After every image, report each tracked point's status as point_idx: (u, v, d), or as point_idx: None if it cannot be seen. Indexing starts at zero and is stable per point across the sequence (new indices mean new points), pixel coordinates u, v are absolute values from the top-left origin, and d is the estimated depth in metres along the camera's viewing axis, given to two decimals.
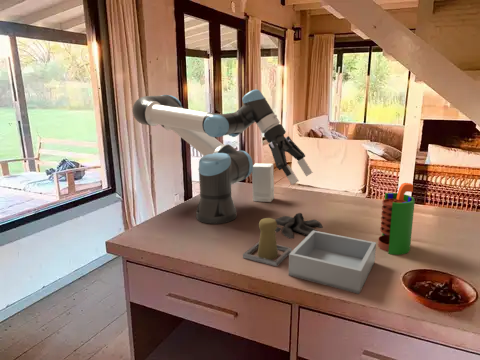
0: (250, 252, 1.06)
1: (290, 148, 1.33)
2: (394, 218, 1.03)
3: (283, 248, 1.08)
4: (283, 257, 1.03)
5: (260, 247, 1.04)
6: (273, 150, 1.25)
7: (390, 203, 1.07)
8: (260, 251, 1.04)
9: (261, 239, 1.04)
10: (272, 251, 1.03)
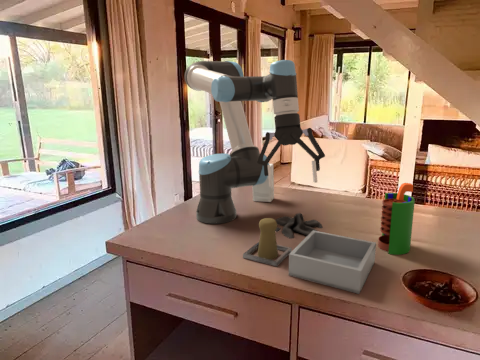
0: (250, 252, 1.06)
1: (300, 144, 1.09)
2: (394, 218, 1.03)
3: (283, 248, 1.08)
4: (283, 257, 1.03)
5: (260, 247, 1.04)
6: (264, 142, 1.10)
7: (390, 203, 1.07)
8: (260, 251, 1.04)
9: (261, 239, 1.04)
10: (272, 251, 1.03)
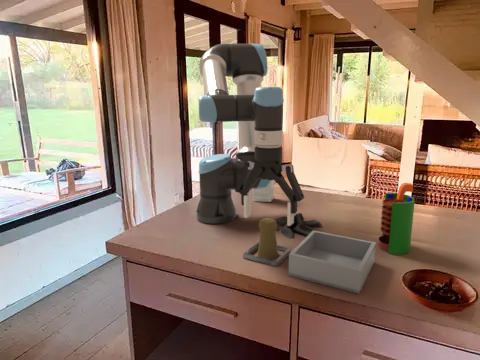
0: (250, 252, 1.06)
1: None
2: (394, 218, 1.03)
3: (283, 248, 1.08)
4: (283, 257, 1.03)
5: (260, 247, 1.04)
6: None
7: (390, 203, 1.07)
8: (260, 251, 1.04)
9: (261, 239, 1.04)
10: (272, 251, 1.03)
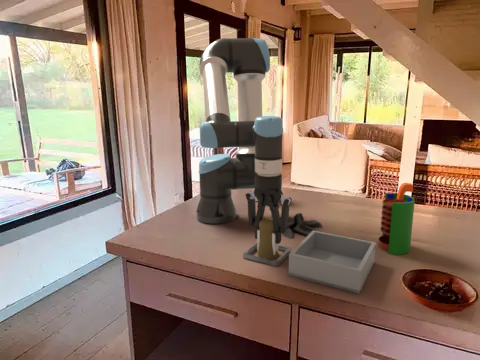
0: (250, 252, 1.06)
1: None
2: (394, 218, 1.03)
3: (283, 248, 1.08)
4: (283, 257, 1.03)
5: (260, 247, 1.04)
6: None
7: (390, 203, 1.07)
8: (260, 251, 1.04)
9: (261, 239, 1.04)
10: (272, 251, 1.03)
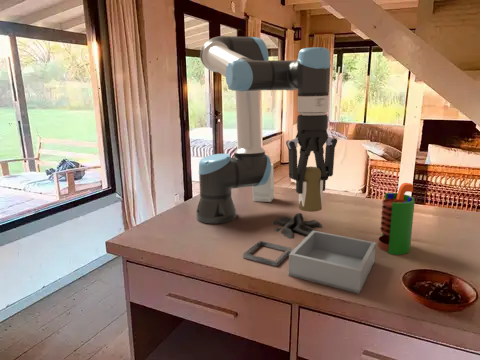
0: (250, 252, 1.06)
1: (318, 153, 0.92)
2: (394, 218, 1.03)
3: (283, 248, 1.08)
4: (283, 257, 1.03)
5: (310, 200, 0.93)
6: (290, 153, 0.91)
7: (390, 203, 1.07)
8: (311, 204, 0.93)
9: (311, 190, 0.92)
10: (320, 200, 0.95)
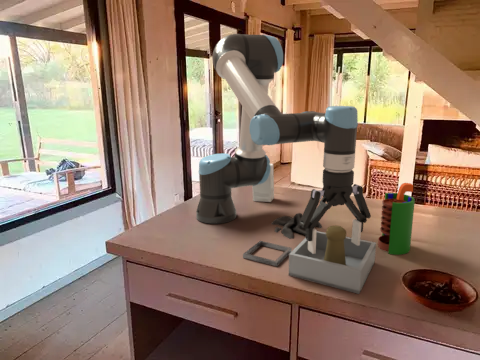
0: (250, 252, 1.06)
1: (348, 204, 0.93)
2: (394, 218, 1.03)
3: (283, 248, 1.08)
4: (283, 257, 1.03)
5: (335, 259, 0.95)
6: (310, 201, 0.91)
7: (390, 203, 1.07)
8: None
9: (336, 251, 0.94)
10: None
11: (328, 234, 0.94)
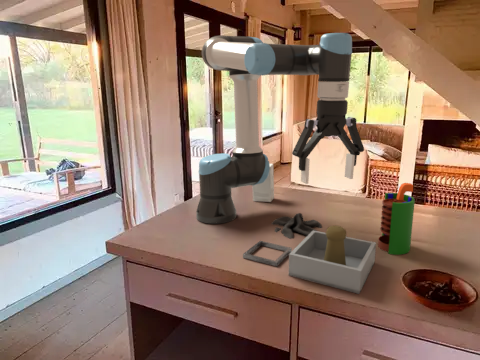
0: (250, 252, 1.06)
1: (341, 136, 0.95)
2: (394, 218, 1.03)
3: (283, 248, 1.08)
4: (283, 257, 1.03)
5: (335, 259, 0.95)
6: (304, 131, 0.92)
7: (390, 203, 1.07)
8: None
9: (336, 251, 0.94)
10: None
11: (328, 234, 0.94)
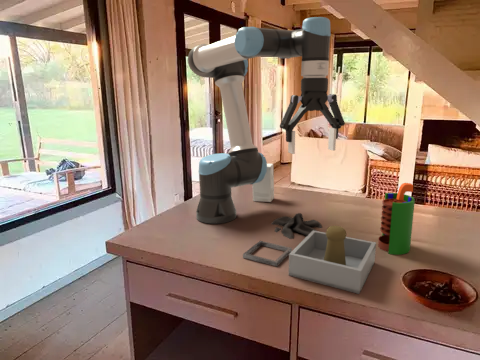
0: (250, 252, 1.06)
1: (324, 111, 1.05)
2: (394, 218, 1.03)
3: (283, 248, 1.08)
4: (283, 257, 1.03)
5: (335, 259, 0.95)
6: (290, 105, 1.02)
7: (390, 203, 1.07)
8: None
9: (336, 251, 0.94)
10: None
11: (328, 234, 0.94)
